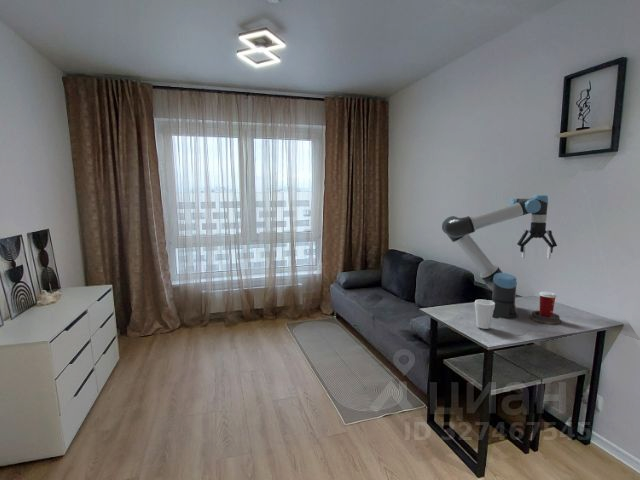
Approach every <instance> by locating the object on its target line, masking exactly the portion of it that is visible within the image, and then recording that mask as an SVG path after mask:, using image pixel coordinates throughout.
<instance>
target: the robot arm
mask: <svg viewBox="0 0 640 480" xmlns="http://www.w3.org/2000/svg"><path fill="white" fill-rule="evenodd" d="M548 206H549V197H548V195H544V194H541V195H540V194H539V195H538V194H536V195H532V198H511V199H510V200H509V204H508V205H506V206H504V207H503V206H502V207H500V208H497V209H493V210H490V211H487V212H484V213H480V214H477V215H474V216H470V215H469V216H464V217H457V216H452V215H451V216H449V217H446V218H445V219H444V220H443V221H442V224H441V229H442V231H443V233H444V234H445V235H446V236H448V238H449V239H450V240H451V241H452V243H456V244H457V246H458V247H460V249H461V250H462V252H463V253H464V254H465V256H466V257H468V259H469V260H470V262H471V263H472V264H473V265H474V267H475V268H476V269H477V271H479V273H480V276H479V277H480V278H481V279H482V281H483V282H484V284H485V286H486V287H487V288H489V289H490V290H491V291H492V296H491V297H492V299H491V301H492V302H494V303H495V308H494V311H493V316H492V318H495V319H499V318H500V319H506V320H507V319H510V320H511V319H512V320H513V319H516V318H518V314H519V313H518V309H517V305H516V298H517V297H516V295H517V284H518V281H517V278H516V276H515V275H513V274H510V273H507V272H503V271H502V270H501V269H500V267H499V266H498V265H495V264H493V263H492V261H491V260H490V259H489V258H488V257H487V255H486V254H485V253H484V251H483V250H482V249H481V247H479V245H478V244H477V242H476V241H474V239H473V238H472V237H471V234H473V233H475V232H476V230H479V229H482V228H483V229H484V228H486V227H489V226H492V225H495V224H499V223H502V222H505V221H508V220H512V219H515V218H518V217H522V216H524V215H525V216H526V215H528V214H531V215H530V217H531V218H530V221H531V222H530V230H528V229H524V231H523V234H522V236H521V237H520V239H519V240H518V242H517V244H516V245H517V246H519V247H520V248H519V250H520V252H521V258H523V259H525V257H526V253H525V252H526V245H527V244H528V243H529V242H530V241H531V240H532V239H543V240H544V241H545V243H546V244H547V245H548V246H547V250H546V251H547V254H546V258H547V259H551V257H552V256H551V254H552V253H553V251H554V247H558V244H557V242H556V239H555V238H554V236H553V231H552V230H550V229H548V230H546V229H547V223H546V222H547V217H548ZM528 234H529V235H528ZM546 234H547V235H548V237H549V239H548V238H547V236H546ZM527 236H528V237H527ZM526 237H527V238H526Z"/></svg>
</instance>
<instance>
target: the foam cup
mask: <svg viewBox="0 0 640 480" xmlns="http://www.w3.org/2000/svg"><path fill="white" fill-rule="evenodd" d="M494 308H495V303H494V302H492V300H489V299H488V300H487V299H475V301H474V309H475V310H474V311H475V321H476V327H478V328H480V329H485V330H489V329H490V328H491V325H492V321H493V311H494Z"/></svg>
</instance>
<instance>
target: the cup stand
mask: <svg viewBox="0 0 640 480" xmlns="http://www.w3.org/2000/svg"><path fill="white" fill-rule="evenodd" d="M531 312H532V313H531V314H530V315H529V318H530V319H531V320H532V321H534V322H537V323H541V324H545V325H553V326H554V325H555V326H556V325H559V324H561V321H562V320H561V319H560V315H559V314H557V313H555V312H553V315H552V318H547V317H542V316H540V310H533V311H531Z"/></svg>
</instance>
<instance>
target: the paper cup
mask: <svg viewBox="0 0 640 480" xmlns="http://www.w3.org/2000/svg"><path fill="white" fill-rule="evenodd" d="M538 295H539V311H540V316H542V317H547V318H552V315H553V313H554V310H555V302H556V298H557V296H556V293H555V292H550V291H540V292H539V293H538Z"/></svg>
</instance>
